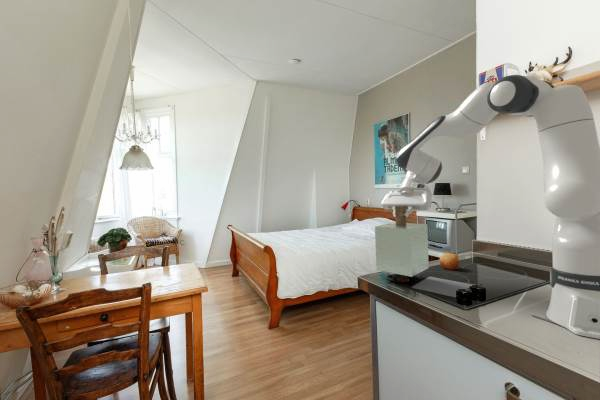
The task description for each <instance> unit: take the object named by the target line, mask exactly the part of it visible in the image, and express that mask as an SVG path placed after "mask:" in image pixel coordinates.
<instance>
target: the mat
mask: <svg viewBox="0 0 600 400" xmlns="http://www.w3.org/2000/svg"><path fill="white" fill-rule="evenodd" d="M472 285H474V284H471V283H466V282H462V281H455V280H451V279H445V278H439V277H434V276H428V277H427V278H425V279H423V280H421V281H419V282H417V283H416V284H414V285H413V286H411V288H412V289H416V290H420V291H426V292H429V293H435V294H438V295H443V296H446V297H447V296H448V297H452V298H456V291H457V290H458V289H467V288H469V287H470V286H472Z"/></svg>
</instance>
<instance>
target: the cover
mask: <svg viewBox="0 0 600 400" xmlns="http://www.w3.org/2000/svg"><path fill="white" fill-rule="evenodd" d="M404 211H407V210H406V207H405V206H395V217H394V218H395V220H394V221H395V222H390V223H385V224H381V225H376V226H374V236H375V237H374V238H375V239H374V240H375V258H376V259H375V260H376V261H375V263H376V271H380V272H384V273H385V272H386V273H390V274H395V275H400V276H401V275H405V277H411V278H413V277H414V276H417V275H418V274H420V273H422V272H424V271H426V270H428V269H429V268H430V266H429V265H430V263H429V239H428V234H429V233H428V223H412V222H411V223H410V222H409V223H408V222H407V217H404V216H403V212H404Z"/></svg>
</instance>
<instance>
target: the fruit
mask: <svg viewBox="0 0 600 400" xmlns="http://www.w3.org/2000/svg"><path fill="white" fill-rule="evenodd" d="M439 263H440V265H441V267H442V268H443V269H447V270H450V271H454V270H457V269H458V270H459V267H460V266H459V264H460V258H459V256H458V255H457V254H455V253H450V252H449V253H445V254H442V255H441V256H440V257H439Z"/></svg>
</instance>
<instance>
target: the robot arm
mask: <svg viewBox="0 0 600 400" xmlns="http://www.w3.org/2000/svg"><path fill="white" fill-rule="evenodd" d="M498 114H500V115H501V114H502V115H509V116H512V117H526V118H527V117H530V118H531V117H533V118H534V120H535V122H536V127H537V133H538V137H539V143H540V149H541V153H542V161H543V189H544V197H543V201H544V205H545V208H546V209H547V210H548V211H549V212H550V213H551V214H553V215H554V216H555V224H554V230H553V235H552V238H551V254H552V255H551V256H552V257H551V258H552V266H551V267H550V271H549V278H550V279H549V280H550V285H551V296H550V301H549V305H548V308H547V310H546V313H545V315H546V316H545V317H547V319H548V320H550V321H551V322H553V323H555V324H557V325H559V326H561V327H563V328H566V329H567V330H568V331H570V332H572V334H575V335H579V336H583V337H588V338H593V339H596V340H597V339H598V340H600V143H599V142H600V141H599V138H598V132H597V127H596V122H595V118H594V114H593V110H592V107H591V105H590V102H589V100H588V97H587V95H586V94H585V92H584V90H583V88H582V87H580V86H578V85H576V84H564V85H563V84H561V85H558V86H554V85H553V84H552V83H551V82H549V81H547V80H543V79H541V78H540V79H539V78H537V77H535V76H530V75H529V76H527V75H520V74H511V75H505V76H503V77H501V78H499V79H498V80H496V81H495V82H484V83H482V84H481V85H479V86H478V87H476V88H475V90H473V91H472V92H471V93H470V94H469V95H468V96H467V97H466V98H465V99H464V101H462V102H461V104H460V105H459V106H458V107H457V108H456V109H455V110H454V111H452V112H450V113H449V114H446V115H440V116H438V117H436V118H435V119H434V120H433V121H431V123H429V124H428V125H427V126H426V127H425V128H424V129H423V130H422V131H421V132H419V133H418V134H417V135H416V136H415V137H414V138H413V139H412V140H411V141H410V142H408V143H407V144H406V145H405V146H403V147H402V148H401V149H400V150H399V151H398V152H397V154H396V157H395V161H396V164H397V167H399V168H401V169H403V170H406V173H405V174H404V179H403V180H402V182H401V184H400V186H399V189H398V191H390V192H388V193H387V194H386V195H385V196H384V198H383V200H382V201H381V202H380V203H381V207H382V208H383V209H384V210H386V211H387V210H393V212H392V216H393V217H394V218H395V206H405V207H406V211H404V212H403V216H404V217H406V218H408V217H409V215H410V214H411V213H413V212H414V211H428V210H429V209H430V208H431V206H432V202H433V200H432V197H433V193H432V191H431V189H430V187H429V185H428V184H430V183H433V182H434V181H436V180H437V179H438V178H439V176H440V175H441V172H442V170H443V163H442V161H441V160H439V159H438V158H436V157H434V156H432V155H430V154H428V153H427V152H424V151H423V150H421V148H423V147H424V145H426V144H427V143H428V142H429V141H430V140H431V139H433V138H436V137H450V138H455V139H468V138H471V137H475V136H476V135H478V133H480V132H481V131H482V130H483V129H484V128H485V127H486V126H487V125H488V124H489V123H490V122H491V121H492V120H493V118H495V117H496V116H498Z"/></svg>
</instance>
